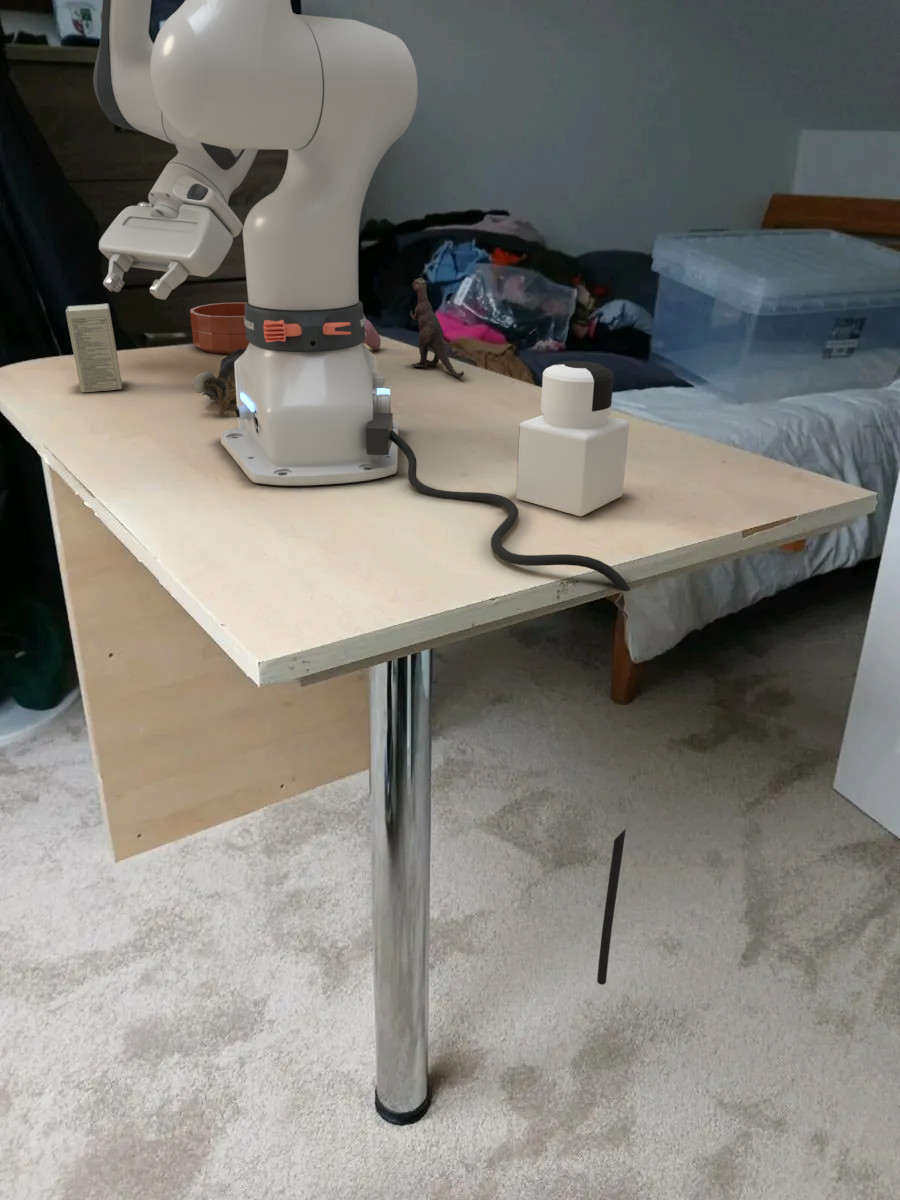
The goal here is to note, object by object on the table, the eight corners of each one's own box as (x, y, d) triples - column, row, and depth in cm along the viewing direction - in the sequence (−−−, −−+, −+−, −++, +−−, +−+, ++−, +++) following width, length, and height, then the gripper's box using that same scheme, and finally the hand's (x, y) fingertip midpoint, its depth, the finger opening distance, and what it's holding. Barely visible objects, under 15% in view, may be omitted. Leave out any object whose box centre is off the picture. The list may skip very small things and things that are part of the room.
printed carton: (122, 382, 123) (110, 302, 119) (122, 390, 119) (110, 308, 115) (79, 385, 122) (66, 304, 117) (78, 393, 118) (65, 310, 113)
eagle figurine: (270, 406, 109) (274, 374, 116) (230, 357, 105) (237, 327, 112) (218, 439, 110) (225, 406, 118) (176, 392, 107) (187, 361, 114)
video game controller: (315, 358, 145) (304, 320, 139) (325, 340, 147) (315, 301, 142) (375, 363, 142) (366, 324, 137) (384, 344, 145) (376, 305, 139)
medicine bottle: (558, 480, 90) (566, 353, 85) (623, 497, 86) (636, 364, 81) (514, 499, 85) (520, 365, 80) (581, 518, 81) (592, 378, 76)
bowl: (284, 353, 141) (282, 315, 138) (193, 356, 138) (189, 318, 136) (278, 336, 152) (276, 301, 150) (194, 339, 149) (190, 303, 147)
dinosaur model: (421, 274, 132) (483, 295, 121) (422, 357, 138) (481, 384, 127) (396, 277, 130) (457, 298, 119) (398, 361, 136) (456, 389, 125)
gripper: (118, 185, 126) (66, 268, 123) (222, 191, 115) (167, 283, 113) (150, 219, 131) (100, 299, 129) (252, 228, 121) (200, 316, 118)
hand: (132, 292), depth 120 cm, fingers open, 8 cm apart
